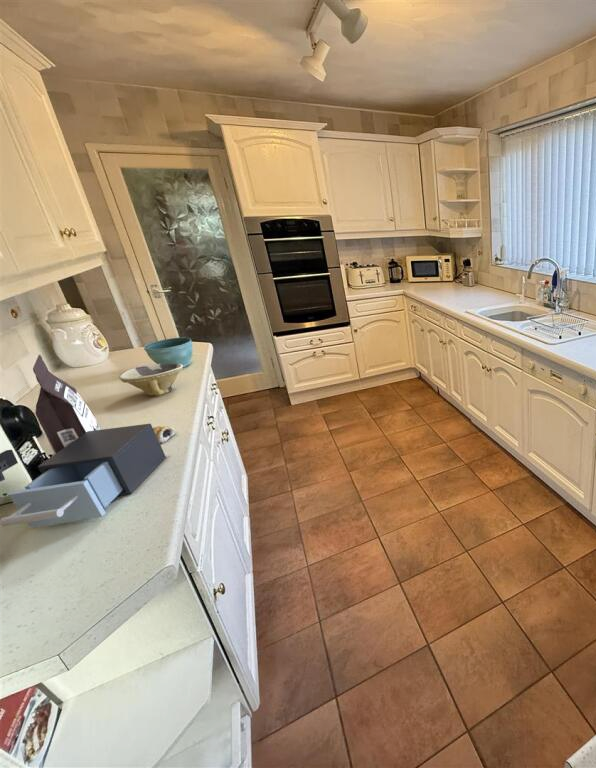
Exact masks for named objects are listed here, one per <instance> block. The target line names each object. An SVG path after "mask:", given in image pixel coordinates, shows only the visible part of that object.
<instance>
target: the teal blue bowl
mask: <svg viewBox="0 0 596 768" xmlns="http://www.w3.org/2000/svg"><path fill="white" fill-rule="evenodd" d="M143 349H144V351H145V352H146V355H147V356H148V358H150V359H151V360H152V362H153V363H154V364H162V363H176V364H182V365H183V368H185V367H188V366H190V364H191V360H192V357H193V355H194V347H193V343H192V339H191V338H190V337H172V338H171V337H170V338H165V339H161V340H156V341H153V342H149V343H147V344H146V345H144V346H143Z"/></svg>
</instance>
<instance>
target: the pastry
mask: <svg viewBox="0 0 596 768" xmlns="http://www.w3.org/2000/svg"><path fill="white" fill-rule="evenodd" d="M152 428H153V430H154V432H155V434H156V436H157V439H158V441H159V443H160V444H164V443H165V442H166V441H168V440H169V439H170V438H172V437H173V436H174V435H175V434H176V430H175V428H174V427H172V426H169V425H166V426H161V425H157V426H155V427H152Z"/></svg>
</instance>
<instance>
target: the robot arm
mask: <svg viewBox="0 0 596 768" xmlns="http://www.w3.org/2000/svg"><path fill="white" fill-rule="evenodd" d="M18 463H19V461H18V459H17V458H16V455H15V452H14V451H13V449H6V450H4V451H2V452H0V482H2V481H5V480H6V478H5V475H4V473H3V472H5V471H7V470H9V469H10V468H12V467H14V466H15V465H17V464H18Z"/></svg>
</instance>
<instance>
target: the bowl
mask: <svg viewBox="0 0 596 768" xmlns="http://www.w3.org/2000/svg"><path fill="white" fill-rule="evenodd" d="M183 369H184V367H183V365H182V364H176V363H162V364H157V363H154V364H148V365H142V366H138V367H137V366H136V367H134V368H130V369H128V370H126V371H124V372H123V373H121V374H120V375H119V376H118V379H119V380H120V381H121V382H122V383H127V384H129V385H131V386H133V387H135V388H137V389H139V390H141V391H143V392H144V393H146V394H147V395H148V396H152V397H154V396H158V397H159V396H162V395H165V394H167V393H171V392H172V390H173V384H174V383H175V381H176V379H177V378H178V375H179V374H180V372H181V371H182V370H183Z"/></svg>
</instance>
